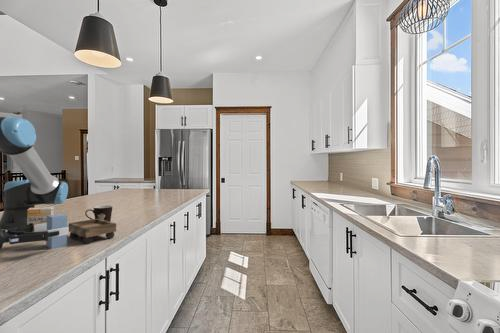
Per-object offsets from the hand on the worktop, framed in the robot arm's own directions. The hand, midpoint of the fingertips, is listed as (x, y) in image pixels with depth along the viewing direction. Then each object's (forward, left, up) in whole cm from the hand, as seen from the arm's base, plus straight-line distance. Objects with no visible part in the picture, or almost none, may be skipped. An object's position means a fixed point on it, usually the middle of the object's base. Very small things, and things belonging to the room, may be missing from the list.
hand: (61, 227), depth 101 cm
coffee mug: (-20, +25, -7) cm, 33 cm away
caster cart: (0, +12, -7) cm, 14 cm away
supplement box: (-17, -1, -7) cm, 19 cm away
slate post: (0, -1, -7) cm, 7 cm away
